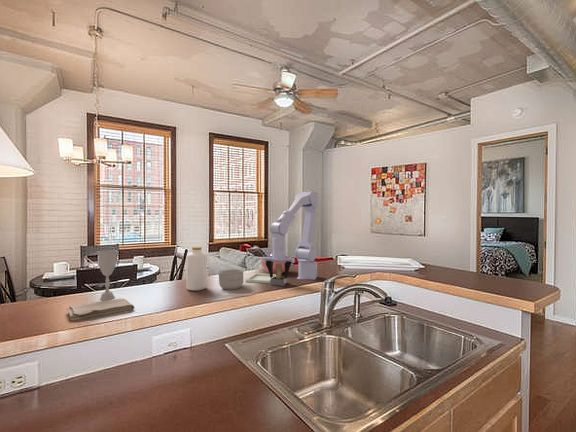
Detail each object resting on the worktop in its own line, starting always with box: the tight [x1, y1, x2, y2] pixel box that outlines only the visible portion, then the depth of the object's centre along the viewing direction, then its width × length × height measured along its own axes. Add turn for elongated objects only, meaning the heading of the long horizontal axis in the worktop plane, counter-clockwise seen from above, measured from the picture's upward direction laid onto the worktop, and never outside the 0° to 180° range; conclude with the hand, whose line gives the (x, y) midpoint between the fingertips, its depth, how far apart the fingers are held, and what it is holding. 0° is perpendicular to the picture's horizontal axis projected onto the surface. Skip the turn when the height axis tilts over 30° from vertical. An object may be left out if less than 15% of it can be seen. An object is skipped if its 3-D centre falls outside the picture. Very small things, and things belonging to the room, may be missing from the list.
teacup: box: [217, 268, 244, 291], centre depth 136 cm, size 14×11×8 cm
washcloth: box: [66, 298, 135, 322], centre depth 103 cm, size 12×18×3 cm, turn 131°
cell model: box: [259, 253, 292, 274], centre depth 170 cm, size 17×20×11 cm
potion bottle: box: [186, 246, 208, 292], centre depth 134 cm, size 8×8×18 cm
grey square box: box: [269, 276, 288, 287], centre depth 142 cm, size 6×6×3 cm
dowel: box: [276, 264, 283, 279], centre depth 142 cm, size 3×3×9 cm
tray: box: [244, 272, 276, 284], centre depth 152 cm, size 12×16×2 cm
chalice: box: [96, 249, 118, 301], centre depth 119 cm, size 7×7×18 cm
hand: (278, 277), depth 142 cm, fingers open, 6 cm apart
